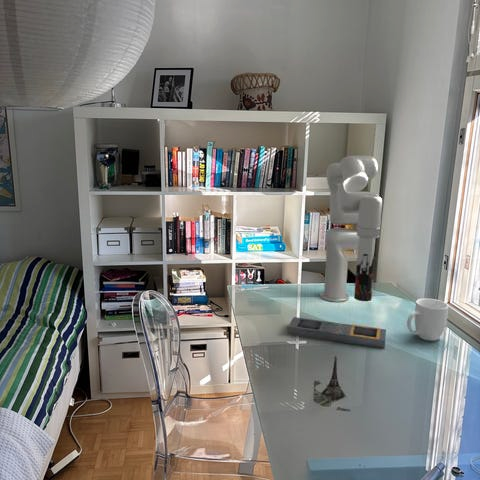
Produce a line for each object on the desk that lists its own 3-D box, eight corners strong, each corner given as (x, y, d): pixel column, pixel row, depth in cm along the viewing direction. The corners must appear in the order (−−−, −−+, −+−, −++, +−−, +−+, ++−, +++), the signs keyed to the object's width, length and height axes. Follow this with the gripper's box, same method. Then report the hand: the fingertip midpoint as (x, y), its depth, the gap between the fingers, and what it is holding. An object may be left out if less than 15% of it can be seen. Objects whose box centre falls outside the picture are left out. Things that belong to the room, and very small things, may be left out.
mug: (416, 346, 168) (419, 311, 165) (397, 333, 178) (400, 300, 176) (451, 341, 173) (455, 307, 170) (430, 329, 183) (434, 297, 180)
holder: (293, 324, 185) (293, 316, 185) (385, 337, 175) (386, 329, 175) (287, 334, 176) (288, 326, 175) (384, 348, 166) (385, 339, 165)
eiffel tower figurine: (313, 381, 144) (315, 340, 141) (348, 384, 143) (351, 342, 140) (312, 409, 130) (315, 363, 127) (351, 413, 128) (354, 367, 125)
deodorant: (371, 302, 167) (375, 260, 163) (354, 300, 168) (357, 258, 164) (371, 296, 172) (374, 255, 169) (354, 294, 173) (357, 254, 170)
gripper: (359, 226, 174) (355, 274, 178) (354, 235, 158) (350, 288, 162) (381, 228, 171) (376, 276, 175) (378, 237, 155) (373, 291, 159)
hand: (364, 281), depth 169 cm, fingers closed on deodorant, 5 cm apart
